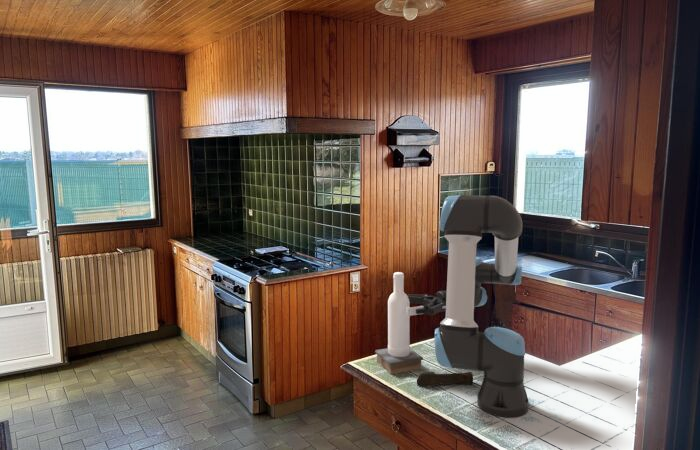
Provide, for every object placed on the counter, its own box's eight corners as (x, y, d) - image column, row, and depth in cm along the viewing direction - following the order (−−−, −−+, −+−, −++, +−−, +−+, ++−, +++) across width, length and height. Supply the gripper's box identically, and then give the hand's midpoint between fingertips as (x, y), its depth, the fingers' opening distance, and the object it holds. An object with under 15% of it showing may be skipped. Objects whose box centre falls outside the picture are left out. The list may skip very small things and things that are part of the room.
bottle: (383, 353, 185) (382, 273, 182) (398, 348, 191) (397, 269, 187) (399, 359, 179) (399, 276, 176) (414, 353, 185) (414, 273, 181)
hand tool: (470, 380, 173) (470, 367, 172) (473, 386, 169) (474, 372, 168) (415, 382, 172) (415, 369, 171) (417, 388, 168) (417, 374, 167)
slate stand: (422, 369, 182) (423, 357, 181) (390, 375, 177) (390, 363, 177) (406, 356, 194) (406, 345, 193) (375, 361, 189) (375, 350, 189)
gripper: (467, 319, 179) (414, 327, 172) (431, 301, 203) (383, 307, 195) (467, 299, 178) (414, 305, 171) (431, 283, 202) (383, 288, 194)
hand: (397, 306), depth 183 cm, fingers open, 13 cm apart
